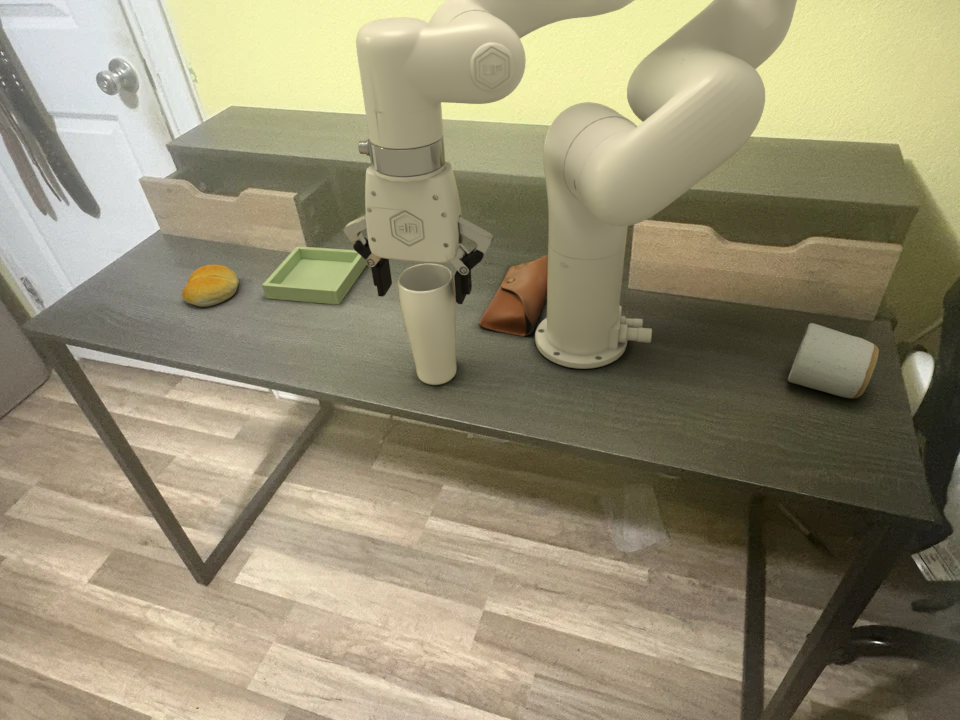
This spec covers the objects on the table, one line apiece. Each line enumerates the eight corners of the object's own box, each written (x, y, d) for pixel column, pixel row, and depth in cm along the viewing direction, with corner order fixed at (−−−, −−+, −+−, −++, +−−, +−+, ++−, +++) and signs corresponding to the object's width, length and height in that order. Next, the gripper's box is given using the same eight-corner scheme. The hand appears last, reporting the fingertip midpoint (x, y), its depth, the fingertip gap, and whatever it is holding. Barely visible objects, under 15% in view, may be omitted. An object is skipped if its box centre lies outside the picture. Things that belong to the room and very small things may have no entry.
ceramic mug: (857, 414, 74) (880, 362, 70) (783, 393, 78) (800, 343, 73) (865, 364, 81) (886, 314, 77) (797, 346, 85) (813, 298, 80)
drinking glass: (455, 393, 81) (445, 294, 72) (405, 388, 82) (388, 290, 73) (467, 360, 86) (459, 264, 77) (419, 355, 87) (405, 260, 78)
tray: (367, 263, 108) (365, 250, 106) (339, 304, 98) (336, 291, 97) (300, 258, 110) (296, 246, 109) (265, 298, 101) (261, 285, 99)
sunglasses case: (508, 264, 104) (528, 234, 100) (543, 286, 105) (565, 258, 100) (475, 327, 91) (497, 296, 86) (517, 352, 92) (540, 323, 87)
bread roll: (179, 311, 99) (170, 289, 97) (196, 281, 106) (188, 260, 104) (232, 306, 100) (224, 285, 97) (245, 277, 106) (238, 256, 104)
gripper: (316, 163, 64) (344, 304, 75) (482, 173, 61) (487, 318, 72) (344, 138, 70) (366, 272, 81) (497, 145, 67) (500, 284, 77)
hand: (423, 294), depth 76 cm, fingers open, 9 cm apart
